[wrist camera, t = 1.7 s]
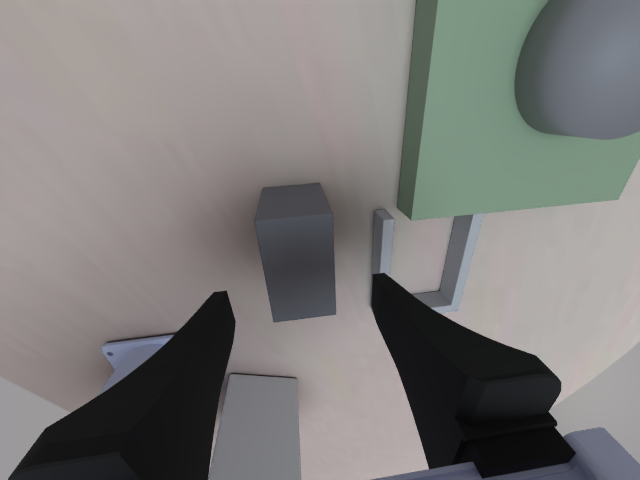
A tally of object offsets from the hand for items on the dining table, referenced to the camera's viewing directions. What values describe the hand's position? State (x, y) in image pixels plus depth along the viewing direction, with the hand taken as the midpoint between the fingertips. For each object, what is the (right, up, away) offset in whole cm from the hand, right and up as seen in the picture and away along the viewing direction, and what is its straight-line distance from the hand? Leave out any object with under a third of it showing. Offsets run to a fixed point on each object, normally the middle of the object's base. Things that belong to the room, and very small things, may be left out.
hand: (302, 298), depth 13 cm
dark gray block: (-1, +4, +7) cm, 8 cm away
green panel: (+14, +8, +7) cm, 17 cm away
